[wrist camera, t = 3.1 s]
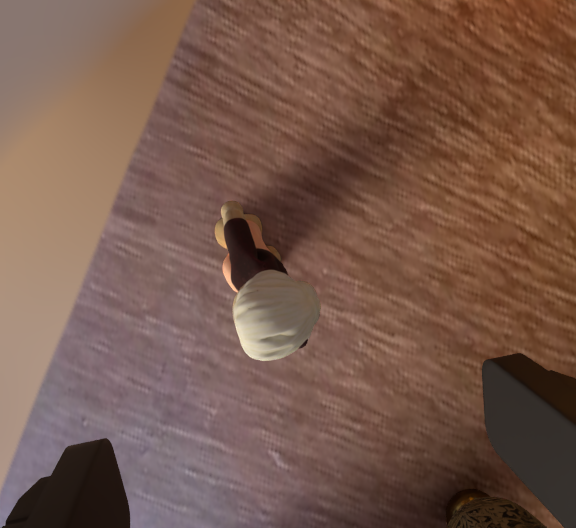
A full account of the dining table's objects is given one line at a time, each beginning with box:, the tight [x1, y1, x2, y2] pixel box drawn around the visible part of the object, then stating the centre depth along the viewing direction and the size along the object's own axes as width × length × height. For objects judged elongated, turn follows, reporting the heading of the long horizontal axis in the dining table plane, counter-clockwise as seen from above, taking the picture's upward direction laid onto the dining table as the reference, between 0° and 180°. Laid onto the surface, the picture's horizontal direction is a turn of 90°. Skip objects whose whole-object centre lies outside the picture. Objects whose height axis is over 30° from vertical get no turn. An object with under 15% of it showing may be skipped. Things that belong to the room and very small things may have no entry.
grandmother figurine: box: [215, 201, 321, 361], centre depth 22 cm, size 8×4×13 cm, turn 37°
